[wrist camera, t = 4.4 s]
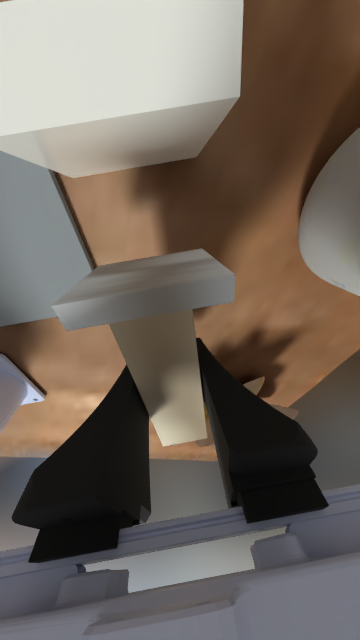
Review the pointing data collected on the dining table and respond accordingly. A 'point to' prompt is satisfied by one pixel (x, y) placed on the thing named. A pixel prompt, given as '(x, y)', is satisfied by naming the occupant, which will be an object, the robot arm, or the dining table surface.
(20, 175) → the mat
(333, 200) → the teacup
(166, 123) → the tile
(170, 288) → the pusher
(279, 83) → the dining table surface
